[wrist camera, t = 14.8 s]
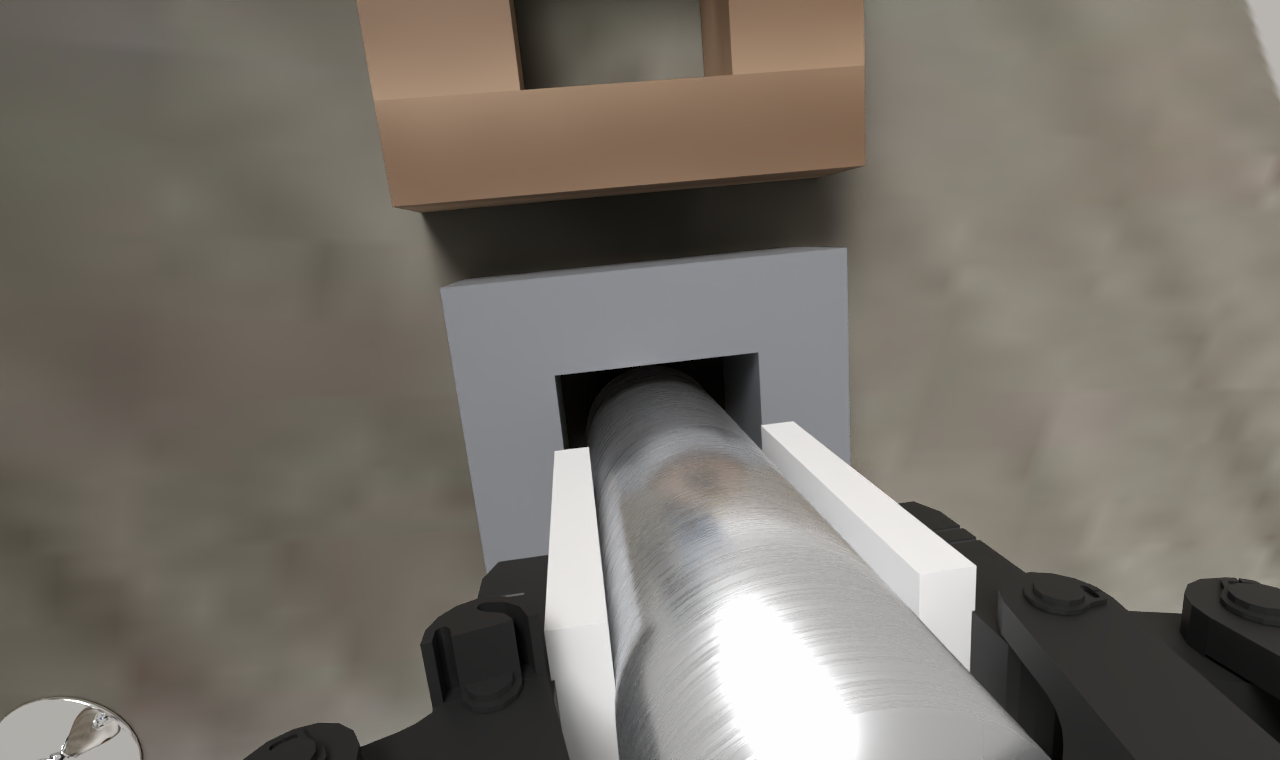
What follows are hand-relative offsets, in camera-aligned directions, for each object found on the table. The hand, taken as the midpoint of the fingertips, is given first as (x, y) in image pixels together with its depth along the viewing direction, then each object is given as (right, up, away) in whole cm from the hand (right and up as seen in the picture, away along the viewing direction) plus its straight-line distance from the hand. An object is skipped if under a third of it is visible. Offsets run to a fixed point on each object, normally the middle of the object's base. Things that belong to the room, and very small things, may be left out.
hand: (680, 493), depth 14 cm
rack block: (-1, +1, +6) cm, 6 cm away
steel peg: (-1, +1, +5) cm, 5 cm away
